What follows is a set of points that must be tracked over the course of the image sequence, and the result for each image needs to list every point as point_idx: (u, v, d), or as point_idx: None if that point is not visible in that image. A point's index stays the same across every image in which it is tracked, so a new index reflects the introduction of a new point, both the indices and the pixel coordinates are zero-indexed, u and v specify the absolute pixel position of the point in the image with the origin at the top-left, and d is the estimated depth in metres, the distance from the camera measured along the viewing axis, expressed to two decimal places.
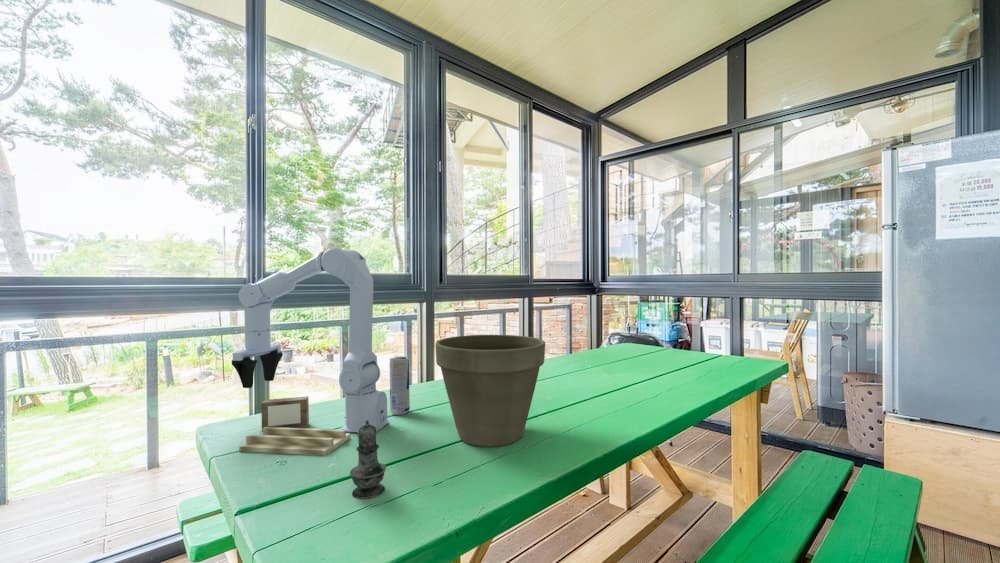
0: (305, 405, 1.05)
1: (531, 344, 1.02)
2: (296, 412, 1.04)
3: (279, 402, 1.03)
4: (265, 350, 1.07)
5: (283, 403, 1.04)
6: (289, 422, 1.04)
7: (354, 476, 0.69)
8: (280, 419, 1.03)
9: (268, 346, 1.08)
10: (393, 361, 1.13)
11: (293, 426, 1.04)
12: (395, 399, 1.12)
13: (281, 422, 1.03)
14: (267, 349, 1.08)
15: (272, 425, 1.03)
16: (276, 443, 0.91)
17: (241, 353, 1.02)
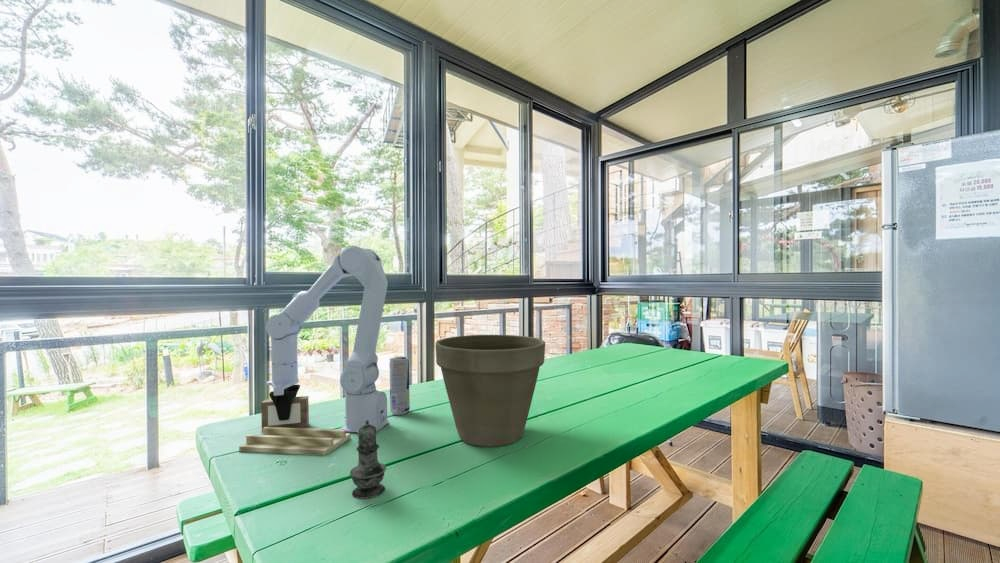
0: (305, 405, 1.05)
1: (531, 344, 1.02)
2: (296, 412, 1.04)
3: None
4: (297, 382, 1.05)
5: None
6: (288, 422, 1.04)
7: (354, 476, 0.69)
8: None
9: (297, 377, 1.06)
10: (393, 361, 1.13)
11: (293, 426, 1.04)
12: (395, 399, 1.12)
13: (281, 422, 1.03)
14: (297, 381, 1.05)
15: (272, 425, 1.03)
16: (276, 443, 0.91)
17: (283, 387, 0.99)
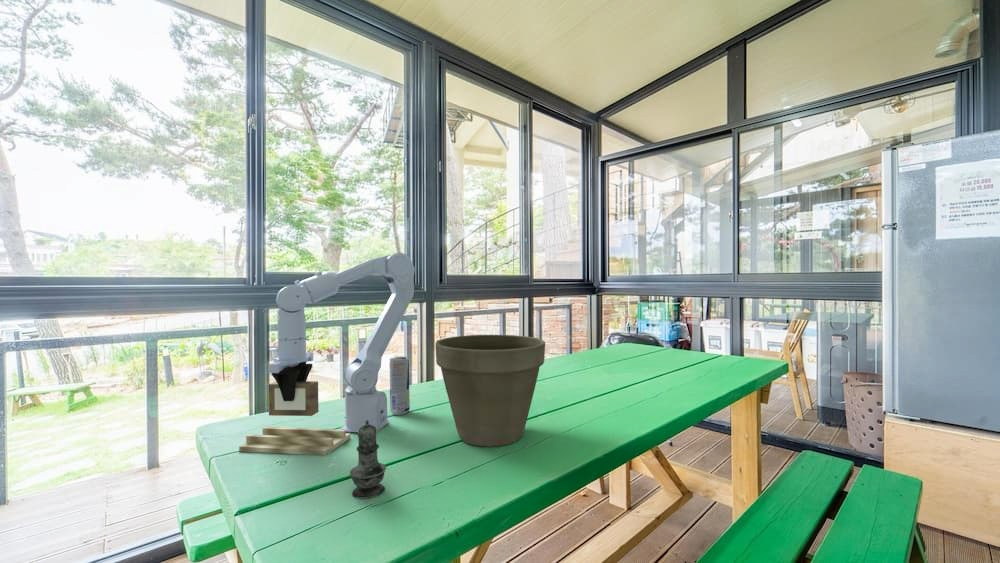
0: (310, 391, 0.94)
1: (531, 344, 1.02)
2: (301, 398, 0.95)
3: None
4: (302, 360, 0.95)
5: None
6: (294, 408, 0.95)
7: (354, 476, 0.69)
8: (286, 403, 0.95)
9: (304, 356, 0.96)
10: (393, 361, 1.13)
11: (298, 413, 0.95)
12: (395, 399, 1.12)
13: (287, 407, 0.95)
14: (304, 359, 0.96)
15: (278, 409, 0.95)
16: (276, 443, 0.91)
17: (278, 364, 0.90)
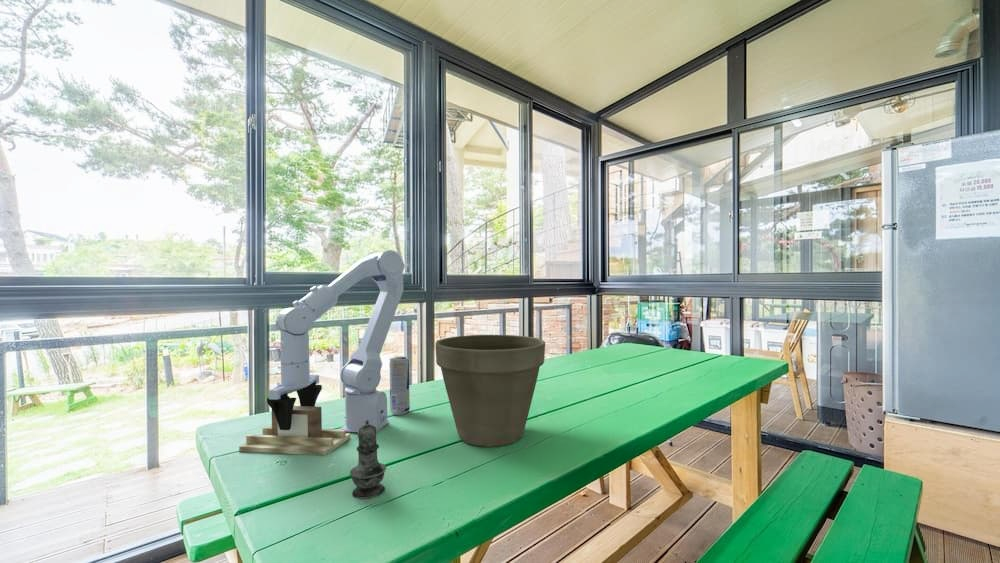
0: (312, 417, 0.91)
1: (531, 344, 1.02)
2: (304, 424, 0.91)
3: None
4: (304, 385, 0.92)
5: None
6: (296, 435, 0.92)
7: (354, 476, 0.69)
8: (288, 430, 0.92)
9: (307, 380, 0.93)
10: (393, 361, 1.13)
11: None
12: (395, 399, 1.12)
13: (290, 434, 0.92)
14: (306, 383, 0.93)
15: (281, 435, 0.92)
16: (276, 443, 0.91)
17: (279, 390, 0.87)
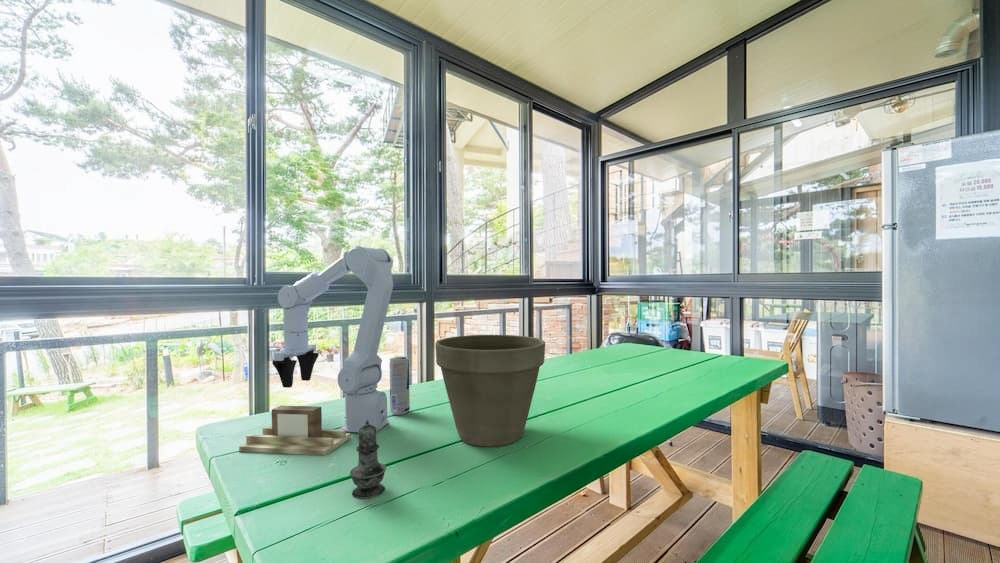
0: (312, 417, 0.91)
1: (531, 344, 1.02)
2: (304, 424, 0.91)
3: (288, 410, 0.92)
4: (304, 350, 1.10)
5: (291, 412, 0.92)
6: (296, 435, 0.92)
7: (354, 476, 0.69)
8: (288, 430, 0.92)
9: (306, 346, 1.11)
10: (393, 361, 1.13)
11: None
12: (395, 399, 1.12)
13: (290, 434, 0.92)
14: (305, 349, 1.10)
15: (281, 435, 0.92)
16: (276, 443, 0.91)
17: (282, 353, 1.04)
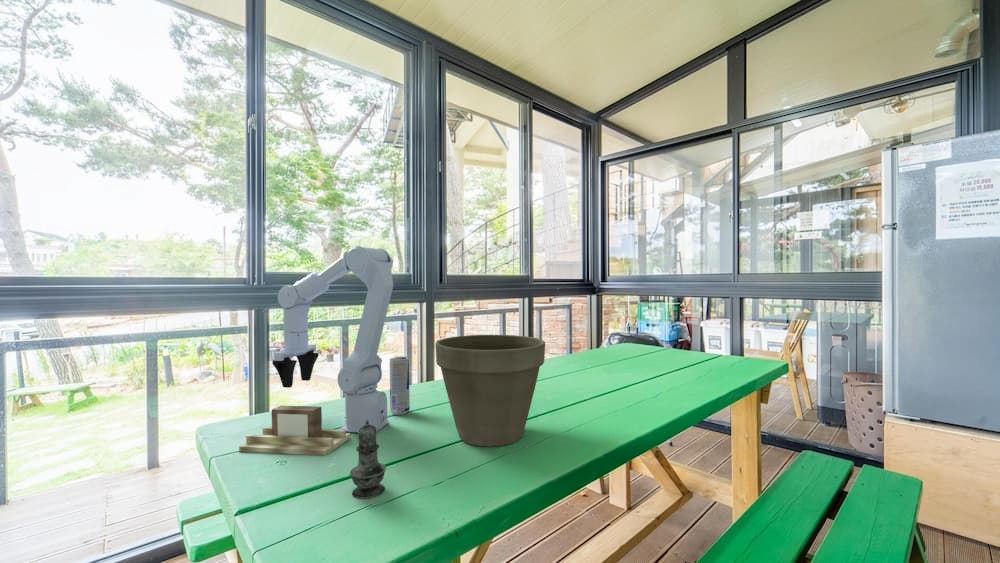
0: (312, 417, 0.91)
1: (531, 344, 1.02)
2: (304, 424, 0.91)
3: (288, 410, 0.92)
4: (304, 350, 1.10)
5: (291, 412, 0.92)
6: (296, 435, 0.92)
7: (354, 476, 0.69)
8: (288, 430, 0.92)
9: (306, 346, 1.11)
10: (393, 361, 1.13)
11: None
12: (395, 399, 1.12)
13: (290, 434, 0.92)
14: (305, 349, 1.10)
15: (281, 435, 0.92)
16: (276, 443, 0.91)
17: (282, 353, 1.04)
